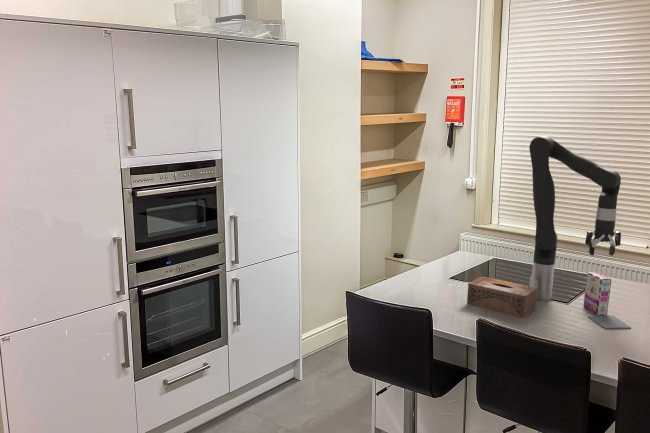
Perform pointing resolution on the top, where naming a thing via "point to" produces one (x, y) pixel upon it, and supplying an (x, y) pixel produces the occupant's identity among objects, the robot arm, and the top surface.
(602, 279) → the candy bar box
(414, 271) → the top surface
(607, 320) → the coaster
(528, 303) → the tissue box cover
